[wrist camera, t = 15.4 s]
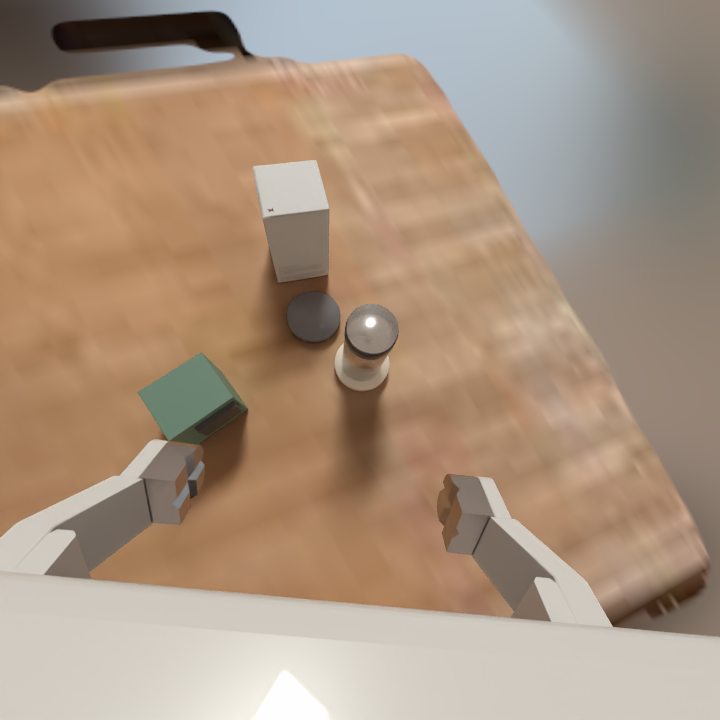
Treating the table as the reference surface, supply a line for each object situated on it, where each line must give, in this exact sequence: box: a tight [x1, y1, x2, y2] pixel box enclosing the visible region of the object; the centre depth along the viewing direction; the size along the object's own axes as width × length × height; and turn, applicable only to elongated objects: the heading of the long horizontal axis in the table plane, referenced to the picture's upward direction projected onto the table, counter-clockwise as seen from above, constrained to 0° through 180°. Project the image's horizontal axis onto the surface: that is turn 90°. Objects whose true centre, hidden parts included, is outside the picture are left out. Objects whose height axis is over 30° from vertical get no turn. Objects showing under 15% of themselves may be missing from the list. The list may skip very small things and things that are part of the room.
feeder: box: [138, 353, 248, 445], centre depth 37 cm, size 7×7×7 cm
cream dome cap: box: [335, 344, 389, 392], centre depth 43 cm, size 7×7×1 cm
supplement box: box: [253, 160, 329, 283], centre depth 42 cm, size 7×7×13 cm
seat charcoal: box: [287, 291, 340, 343], centre depth 44 cm, size 7×7×1 cm
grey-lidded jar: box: [342, 304, 398, 382], centre depth 37 cm, size 5×5×11 cm
